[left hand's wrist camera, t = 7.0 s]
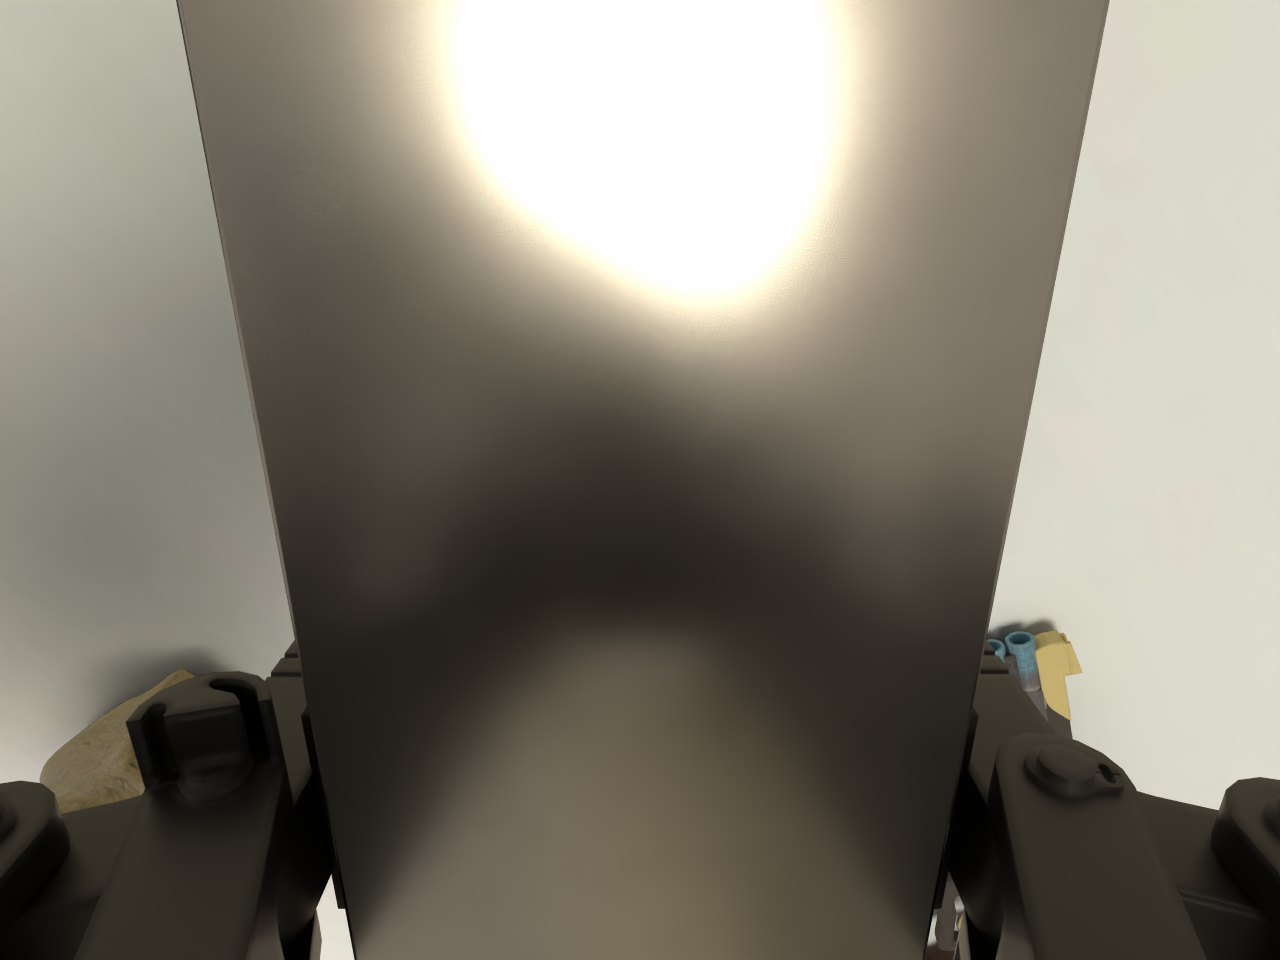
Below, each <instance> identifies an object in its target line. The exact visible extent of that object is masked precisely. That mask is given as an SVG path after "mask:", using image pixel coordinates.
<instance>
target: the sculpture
mask: <svg viewBox="0 0 1280 960" xmlns="http://www.w3.org/2000/svg"><path fill="white" fill-rule="evenodd" d="M193 677H195V676H194V675H192V674H191V673H189V672H187V671H186V670H182V669H181V670H178V671H176V672H174V673H172V674H170V675H169V676H167V677H166V678H165V679H164V680H163V681H162V682H160V683H159V684H158V685H156V686H155V687H153V688H152V689H150V690H149V691H147V692H145V693H143V694H141V695H139V696H137V697H134V698H131V699H129V700H127V701H125V702H124V703H122V704H120V705H119V706H117V707H116V708H114V709H112V710H111V711H109V712H108V713H107V714H105V715H104V716H102V717H101V718H100V719H98V720H97V721H95V722H94V723H92V724H91V725H90V726H88V727H87V728H85V729H84V730H83V731H81V732H80V733H79V734H78V735H76V736H75V737H74V738H73V739H71V740H70V741H69V742H68V743H66V744H65V745H64V746H63V747H61V748H60V749H59V750H58V751H57V752H56V753H54V754H53V756H52V757H51V758H50V759H49V760H48V761H47V762H46V764H45V766H44V767H43V770H42V773H41V776H40V783H42V784H43V785H45V786H46V787H47V788H48V789H50V790H51V791H52V792H54V793H55V796H56V799H57V802H58V805H59V808H60V810H61V813H62V814H63V813H68V812H72V811H76V810H81V809H85V808H90V807H94V806H99V805H103V804H108V803H112V802H117V801H121V800H126V799H129V798H132V797H136V796H139V795H142V794H143V792H144V789H145V786H144V783H143V780H142V776H141V773H140V769H139V766H138V763H137V759H136V756H135V753H134V749H133V746H132V742H131V739H130V736H129V732H128V729H127V726H126V721H127V720H128V718H129V717H130V716H131V715H132V713H133V712H134V711H135V710H136V708H137V707H138V706H139V705H140V704H142V703H143V702H145V701H146V700H148V699H149V698H150V697H152V696H153V695H155V694H156V693H158V692H159V691H161V690H163V689H165V688H167V687H170V686H172V685H174V684H177V683H179V682H181V681H183V680H186V679H189V678H193Z"/></svg>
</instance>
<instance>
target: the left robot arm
mask: <svg viewBox="0 0 1280 960" xmlns="http://www.w3.org/2000/svg"><path fill="white" fill-rule="evenodd" d="M126 726H127V729H128V732H129V736H130V739H131V742H132V746H133V749H134V753H135V756H136V759H137V763H138V766H139V769H140V773H141V776H142V780H143V783H144V786H145V789H144V792H143V794H142V795H139V796H136V797H132V798H129V799H126V800H121V801H117V802H112V803H108V804H103V805H99V806H94V807H90V808H85V809H81V810H76V811H72V812H68V813H63V814H62V813H61V810H60V808H59V805H58V802H57V799H56V796H55V793H54V792H52V791H51V790H50V789H48V788H47V787H46V786H45V785H43V784H42V783H34V782H27V781H15V782H8V783H1V784H0V960H320V952H321V942H322V939H321V932H320V925H319V920H318V915H317V910H316V908H317V905H318V903H319V901H320V898H321V896H322V894H323V892H324V889H325V887H326V885H327V882H328V880H329V878H330V876H331V874H332V879H333V885H334V890H335V895H336V900H337V905H338V909H345V905H344V900H343V894H342V889H341V884H340V878H339V873H338V867H337V862H336V857H335V851H334V846H333V841H332V835H331V830H330V824H329V819H328V814H327V808H326V803H325V798H324V792H323V787H322V781H321V776H320V771H319V765H318V760H317V755H316V749H315V744H314V738H313V733H312V728H311V722H310V717H309V711H308V706H307V701H306V695H305V690H304V685H303V679H302V674H301V668H300V663H299V658H298V652H297V647H296V642H295V641H294V642H293V643H292V645H291V646H290V647H289V649H288V650H287V651H286V653H285V658H281V660H280V661H279V662H278V664H277V665H276V666H275V668H274V669H273V670H272V672H271V677H267V679H266V680H265V681H264V680H263V679H261V678H260V677H259V676H257V675H253V674H248V673H244V672H239V671H235V672H214V673H210V674H206V675H201V676H197V677H193V678H189V679H186V680H183V681H181V682H179V683H177V684H174V685H172V686H170V687H167V688H165V689H163V690H161V691H159V692H158V693H156V694H155V695H153V696H152V697H150V698H149V699H148V700H146V701H145V702H143V703H142V704H140V705H139V706H138V707H137V708H136V710H135V711H134V712H133V713H132V715H131V716H130V717H129V718H128V720H127V721H126ZM948 872H949V873H950V875H951V877H952V880H953V882H954V884H955V886H956V889H957V891H958V893H959V896H960V898H961V900H962V902H963V905H964V910H963V915H962V920H961V925H960V929H959V934H958V939H957V944H956V949H955V953H954V958H953V960H1280V780H1276V779H1269V778H1262V777H1258V778H1250V779H1243V780H1238V781H1236V782H1235V783H1234V784H1233V785H1231V786H1230V787H1229V788H1228V789H1226V791H1225V794H1224V797H1223V800H1222V803H1221V806H1220V809H1219V810H1214V809H1210V808H1205V807H1201V806H1196V805H1192V804H1187V803H1183V802H1178V801H1174V800H1169V799H1165V798H1160V797H1156V796H1152V795H1149V794H1145V793H1142V792H1138V791H1137V790H1136V788H1135V786H1134V785H1133V783H1132V782H1131V780H1130V779H1129V778H1128V776H1127V775H1126V773H1125V772H1124V770H1123V769H1122V768H1120V767H1119V766H1118V765H1117V764H1115V763H1114V762H1113V761H1112V760H1110V759H1109V758H1108V757H1107V756H1105V755H1104V754H1103V753H1101V752H1099V751H1097V750H1095V749H1093V748H1091V747H1089V746H1087V745H1085V744H1083V743H1081V742H1079V741H1076V740H1073V739H1069V738H1065V737H1062V736H1058V735H1057V734H1056V732H1055V731H1054V730H1053V728H1052V727H1051V726H1050V724H1049V723H1048V722H1047V720H1046V719H1045V718H1044V716H1043V715H1042V714H1041V712H1040V711H1039V710H1038V708H1037V707H1036V705H1035V704H1034V703H1033V701H1032V700H1031V699H1030V697H1029V696H1028V695H1027V693H1026V692H1025V691H1024V689H1023V688H1022V687H1021V685H1020V684H1019V683H1018V681H1017V680H1016V678H1015V677H1014V676H1013V674H1009V669H1008V668H1007V666H1006V665H1005V664H1004V662H1003V661H1002V660H1001V658H1000V657H999V656H998V655H995V650H994V649H993V647H992V646H991V645H990V643H989V642H988V641H987V639H986V642H985V647H984V653H983V658H982V663H981V668H980V673H979V678H978V684H977V689H976V694H975V699H974V704H973V710H972V715H971V720H970V725H969V730H968V735H967V741H966V746H965V751H964V756H963V761H962V766H961V772H960V777H959V782H958V787H957V792H956V798H955V803H954V808H953V813H952V818H951V823H950V829H949V834H948V839H947V844H946V849H945V854H944V860H943V865H942V870H941V875H940V880H939V886H938V891H937V896H936V901H935V906H934V909H941V908H942V903H943V897H944V892H945V887H946V882H947V877H948Z"/></svg>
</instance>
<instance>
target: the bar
mask: <svg viewBox="0 0 1280 960" xmlns="http://www.w3.org/2000/svg"><path fill="white" fill-rule="evenodd" d="M176 1H177V7H178V12H179V18H180V23H181V28H182V34H183V39H184V45H185V50H186V55H187V61H188V66H189V71H190V77H191V82H192V88H193V93H194V98H195V104H196V109H197V114H198V120H199V125H200V131H201V136H202V141H203V147H204V152H205V157H206V163H207V168H208V174H209V179H210V184H211V190H212V195H213V200H214V206H215V211H216V217H217V222H218V227H219V233H220V238H221V244H222V249H223V254H224V260H225V265H226V270H227V276H228V281H229V287H230V292H231V297H232V303H233V308H234V313H235V319H236V324H237V330H238V335H239V340H240V346H241V351H242V356H243V362H244V367H245V373H246V378H247V383H248V389H249V394H250V400H251V405H252V410H253V416H254V421H255V426H256V432H257V437H258V443H259V448H260V453H261V459H262V464H263V469H264V475H265V480H266V486H267V491H268V496H269V502H270V507H271V512H272V518H273V523H274V529H275V534H276V539H277V545H278V550H279V555H280V561H281V566H282V572H283V577H284V582H285V588H286V593H287V599H288V604H289V609H290V615H291V620H292V625H293V631H294V636H295V642H296V647H297V652H298V658H299V663H300V668H301V674H302V679H303V685H304V690H305V695H306V701H307V706H308V711H309V717H310V722H311V728H312V733H313V738H314V744H315V749H316V755H317V760H318V765H319V771H320V776H321V781H322V787H323V792H324V798H325V803H326V808H327V814H328V819H329V824H330V830H331V835H332V841H333V846H334V851H335V857H336V862H337V867H338V873H339V878H340V884H341V889H342V894H343V900H344V905H345V910H346V916H347V921H348V927H349V932H350V937H351V943H352V948H353V954H354V959H355V960H924V958H925V953H926V948H927V942H928V937H929V932H930V927H931V922H932V917H933V911H934V906H935V901H936V896H937V891H938V886H939V880H940V875H941V870H942V865H943V860H944V854H945V849H946V844H947V839H948V834H949V829H950V823H951V818H952V813H953V808H954V803H955V798H956V792H957V787H958V782H959V777H960V772H961V766H962V761H963V756H964V751H965V746H966V741H967V735H968V730H969V725H970V720H971V715H972V710H973V704H974V699H975V694H976V689H977V684H978V678H979V673H980V668H981V663H982V658H983V653H984V647H985V642H986V637H987V632H988V627H989V622H990V616H991V611H992V606H993V601H994V596H995V590H996V585H997V580H998V575H999V570H1000V565H1001V559H1002V554H1003V549H1004V544H1005V539H1006V534H1007V528H1008V523H1009V518H1010V513H1011V508H1012V503H1013V497H1014V492H1015V487H1016V482H1017V477H1018V471H1019V466H1020V461H1021V456H1022V451H1023V446H1024V440H1025V435H1026V430H1027V425H1028V420H1029V415H1030V409H1031V404H1032V399H1033V394H1034V389H1035V383H1036V378H1037V373H1038V368H1039V363H1040V358H1041V352H1042V347H1043V342H1044V337H1045V332H1046V327H1047V321H1048V316H1049V311H1050V306H1051V301H1052V295H1053V290H1054V285H1055V280H1056V275H1057V270H1058V264H1059V259H1060V254H1061V249H1062V244H1063V239H1064V233H1065V228H1066V223H1067V218H1068V213H1069V207H1070V202H1071V197H1072V192H1073V187H1074V182H1075V176H1076V171H1077V166H1078V161H1079V156H1080V151H1081V145H1082V140H1083V135H1084V130H1085V125H1086V119H1087V114H1088V109H1089V104H1090V99H1091V94H1092V88H1093V83H1094V78H1095V73H1096V68H1097V63H1098V57H1099V52H1100V47H1101V42H1102V37H1103V31H1104V26H1105V21H1106V16H1107V11H1108V6H1109V0H176Z"/></svg>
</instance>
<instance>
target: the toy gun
mask: <svg viewBox="0 0 1280 960" xmlns="http://www.w3.org/2000/svg"><path fill="white" fill-rule="evenodd" d="M987 641H988V642H989V643H990V645H991V646H992V647H993V649H994V650H995V655H998V656H999V657H1000V658H1001V660H1002V661H1003V662H1004V664H1005V665H1006V666H1007V668H1008V669H1009V674H1013V676H1014V677H1015V678H1016V680H1017V681H1018V683H1019V684H1020V685H1021V687H1022V688H1023V689H1024V691H1025V692H1026V693H1027V695H1028V696H1029V697H1030V699H1031V700H1032V701H1033V703H1034V704H1035V705H1036V707H1037V708H1038V710H1039V711H1040V712H1041V714H1042V715H1043V716H1044V718H1045V719H1046V720H1047V722H1048V723H1049V724H1050V726H1051V727H1052V728H1053V730H1054V731H1055V732H1056V734H1057V735H1058V736H1062V737H1065V738H1069V739H1073V738H1072V733H1071V726H1070V721H1071V717H1070V709H1069V703H1068V697H1067V690H1066V684H1065V676H1068V675H1072V674H1077V673H1082V670H1081V668H1080V665H1079V662H1078V660H1077V657H1076V655H1075V652H1074V650H1073V647H1072V645H1071V643H1070V641H1067V638H1066V636H1065V634H1064V633H1061V634H1059V633H1058V632H1057V631H1056V630H1054V631H1048V632H1043V633H1040V634H1037V635H1035V636H1034V635H1033V634H1031V633H1029V632H1024V631H1016V632H1013V633H1010V634H1009V635H1007V636H1006V637H1005V642H1006V645H1004V644H1003V643H1002V642H1001V641H999V640H996V639H989V640H987ZM957 896H959V893H958V891H957V889H956V886H955V884H954V882H953V880H952V877H951V875H950V873H949V872H948V877H947V882H946V887H945V892H944V897H943V903H942V908H941V909H938V916H937V922H936V927H935V936H936V940H937V944H938V948H939V949H941V950H943V951H955V949H956V944H957V939H958V934H959V932H957V931H954V928H955V921H956V910H955V904H954V900H955V898H956V897H957ZM961 920H962V914H960V915H959V916H958V919H957V922H956V924H957V928H958V929H960V925H961ZM953 958H954V957H951V958H949V959H946V960H953Z"/></svg>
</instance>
